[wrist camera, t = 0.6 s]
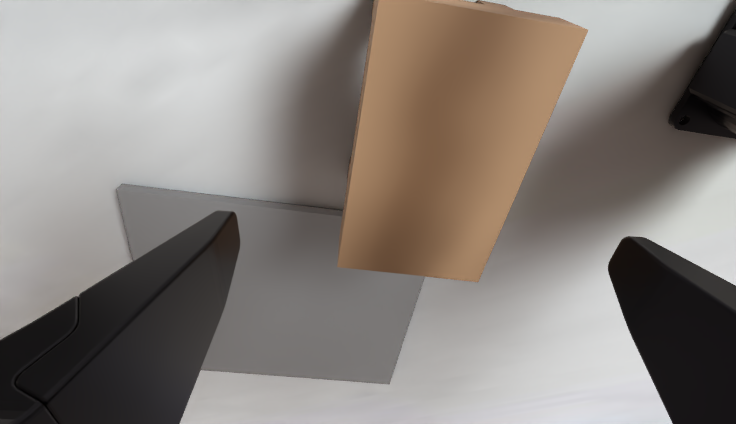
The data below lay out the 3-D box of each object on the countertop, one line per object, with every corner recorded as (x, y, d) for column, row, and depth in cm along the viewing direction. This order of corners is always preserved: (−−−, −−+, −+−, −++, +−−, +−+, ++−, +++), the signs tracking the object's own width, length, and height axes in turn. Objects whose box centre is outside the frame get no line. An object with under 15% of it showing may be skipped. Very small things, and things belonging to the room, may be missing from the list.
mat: (439, 222, 24) (440, 228, 23) (388, 377, 33) (389, 384, 32) (121, 184, 22) (116, 189, 21) (160, 359, 31) (157, 366, 30)
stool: (511, -3, 17) (588, 29, 11) (448, 194, 23) (478, 282, 17) (372, -28, 16) (379, -8, 11) (343, 180, 22) (337, 267, 16)
